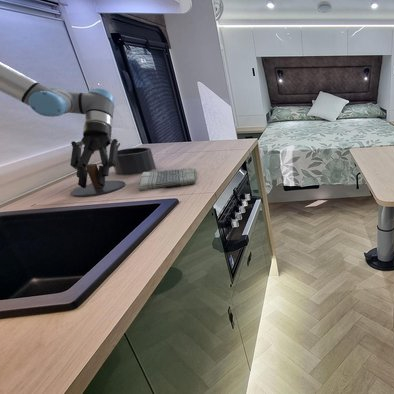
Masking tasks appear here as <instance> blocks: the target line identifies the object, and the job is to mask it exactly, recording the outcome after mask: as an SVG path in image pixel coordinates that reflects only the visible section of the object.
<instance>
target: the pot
mask: <svg viewBox="0 0 394 394" xmlns="http://www.w3.org/2000/svg"><path fill="white" fill-rule="evenodd" d="M153 155H154V154H153V151H152V148H151V147H142V146H141V147H131V148H130V147H128V148H123V149H118V153H117V163H116V166H115V167H113V169H114V172H115V174H116V175H118V176H119V175H120V176H131V175H138V174H142V173H143V172H152V171H153V170H155V171H156V169H157V168H156V163H155V159H154V156H153Z"/></svg>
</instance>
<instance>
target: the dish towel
mask: <svg viewBox="0 0 394 394" xmlns="http://www.w3.org/2000/svg"><path fill="white" fill-rule="evenodd" d="M196 183H197V168H194V167H188V168H186V167H185V168H178V169H177V168H176V169H167V170H166V169H165V170H155V171H148V172H143V173H141V177H140V181H139V185H138V187H137V188H138V191H139V192H144V191H151V190H158V189H166V188H167V189H168V188H173V187H174V188H175V187H181V186H188V185H193V184H196Z"/></svg>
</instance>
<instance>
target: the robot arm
mask: <svg viewBox="0 0 394 394" xmlns="http://www.w3.org/2000/svg"><path fill="white" fill-rule="evenodd" d="M0 92H1V93H2V94H5V95H7V96H8V97H11V98H13V99H15V100H17V101H18V102H21V103H23V104H25V105H27V106H29V107H30V108H31V109H32V111H34V112H35V113H36V114H38V115H40V116H44V117H50V118H51V117H61V116H63V115H65V114H77V115H78V114H79V115H84V122H83V123H84V124H83V131H82V138H81V139H80V140H79V141H71V142H70V144H71V147H72V150H71V157H70V167H71V168H73V169H74V170H76V177H77V178H78V181H77V185H78V187H82V188H86V185H87V184H88V183H87V182H88V176H89V174H88V171H87V169H86V165H89V163H90V160H91V157H92V156H93V154H95V152H97V151H98V152H99V157H100V162H101V163H100V164H101V165H98V170H99V172H98V181H97V183H98V184H99V185H101V186H105V181H106V177H108V176H109V173H110V168H112V167H113V168H114V167H115V166H116V163H117V153H118V150H119V148H120V145H121V142H120V141H119V140H118V139H117V138H113V139H112V132H113V131H112V129H113V120H114V118H113V117H114V112H115V111H114V110H115V96H114V95H113V93H111V92H110V91H109V90H107V89H104V88H101V87H95V88H91V89H89V90H88V91H87V93H86V92H77V91H71V90H64V89H58V88H55V87H53V88H52V87H50V88H49V87H47V86H45V85H43V84H41V83H40V82H38V81H36V80H34V79H32V78H30V77H29V76H27V75H25V74H23V73H21V72H19V71H17V70H16V69H14V68H12V67H10V66H9V65H6V64H5V63H3V62H1V61H0ZM108 146H109V155H108V149H107V147H108ZM82 149H83V151H82Z"/></svg>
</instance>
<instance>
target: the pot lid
mask: <svg viewBox="0 0 394 394" xmlns="http://www.w3.org/2000/svg"><path fill="white" fill-rule="evenodd" d="M86 170H87V171H88V176H89V179H90V182H91V183H87V184H86V188H82V187H81V186H78V187H76V188H73V189H72V190H71V191H70V195H71V196H72V197H76V198H85V197H86V198H87V197H88V198H89V197H94V196H95V197H96V196H102V195H106V194H111V193H114V192H117V191H119V190H121V189H123V188H124V187H125V186H126V182H125V181H123V180H105V186H101V185H99V184H98V183H97V181H98V172H99V166H98V165H97V163H90V164H89V163H88V165H86Z"/></svg>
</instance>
